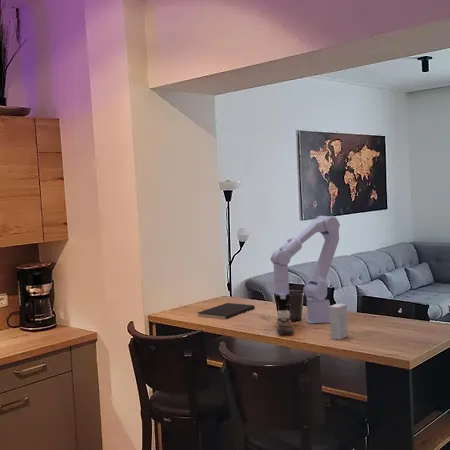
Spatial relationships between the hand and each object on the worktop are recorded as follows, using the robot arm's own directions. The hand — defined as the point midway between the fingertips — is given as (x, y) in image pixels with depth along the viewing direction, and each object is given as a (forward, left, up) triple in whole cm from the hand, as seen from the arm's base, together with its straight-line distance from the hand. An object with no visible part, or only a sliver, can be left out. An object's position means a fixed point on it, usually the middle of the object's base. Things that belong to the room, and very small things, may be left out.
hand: (282, 313), depth 235 cm
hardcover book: (+24, -31, -6) cm, 40 cm away
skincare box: (-19, +21, -6) cm, 29 cm away
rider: (0, +3, -2) cm, 4 cm away
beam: (0, +8, -5) cm, 10 cm away
